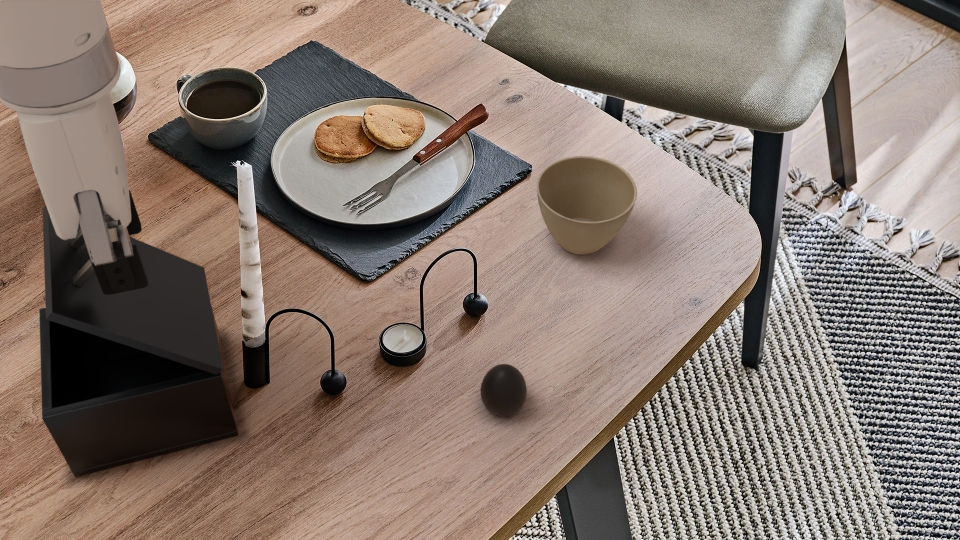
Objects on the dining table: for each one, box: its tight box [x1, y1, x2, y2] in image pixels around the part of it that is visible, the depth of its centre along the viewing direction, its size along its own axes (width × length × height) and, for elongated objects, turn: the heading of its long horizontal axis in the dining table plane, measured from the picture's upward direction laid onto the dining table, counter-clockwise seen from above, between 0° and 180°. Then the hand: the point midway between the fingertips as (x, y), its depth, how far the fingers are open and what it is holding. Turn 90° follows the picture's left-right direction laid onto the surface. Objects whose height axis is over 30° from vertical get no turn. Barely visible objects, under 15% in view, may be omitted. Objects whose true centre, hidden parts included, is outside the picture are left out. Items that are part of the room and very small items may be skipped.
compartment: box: [38, 305, 240, 478], centre depth 81 cm, size 14×12×9 cm
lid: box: [42, 204, 223, 375], centre depth 73 cm, size 14×12×5 cm
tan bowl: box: [536, 155, 638, 256], centre depth 97 cm, size 10×10×7 cm
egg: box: [480, 363, 528, 417], centre depth 83 cm, size 4×4×5 cm
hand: (123, 258), depth 71 cm, fingers closed on lid, 5 cm apart
